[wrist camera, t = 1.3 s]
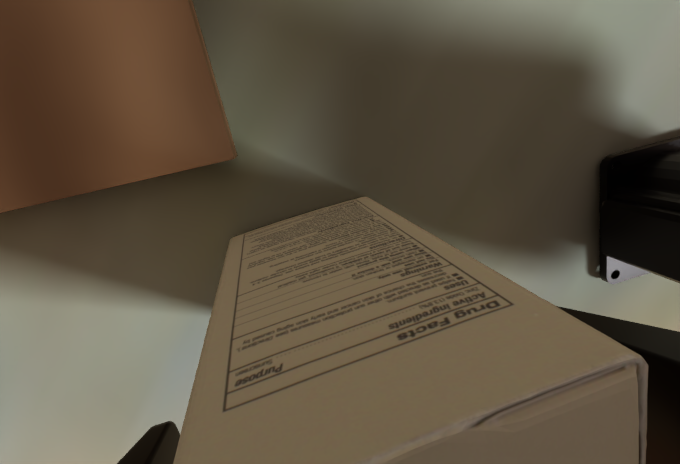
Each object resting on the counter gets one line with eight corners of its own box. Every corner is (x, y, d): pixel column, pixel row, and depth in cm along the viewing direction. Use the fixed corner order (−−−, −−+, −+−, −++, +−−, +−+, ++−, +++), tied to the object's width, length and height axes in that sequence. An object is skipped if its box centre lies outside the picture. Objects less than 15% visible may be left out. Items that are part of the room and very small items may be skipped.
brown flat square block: (148, -155, 12) (126, -207, 10) (238, 154, 15) (234, 158, 13) (-205, -110, 11) (-306, -160, 9) (-31, 216, 14) (-78, 230, 12)
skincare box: (260, 325, 17) (246, 784, 5) (227, 234, 15) (101, 574, 4) (396, 280, 17) (664, 594, 6) (375, 190, 16) (669, 357, 4)
